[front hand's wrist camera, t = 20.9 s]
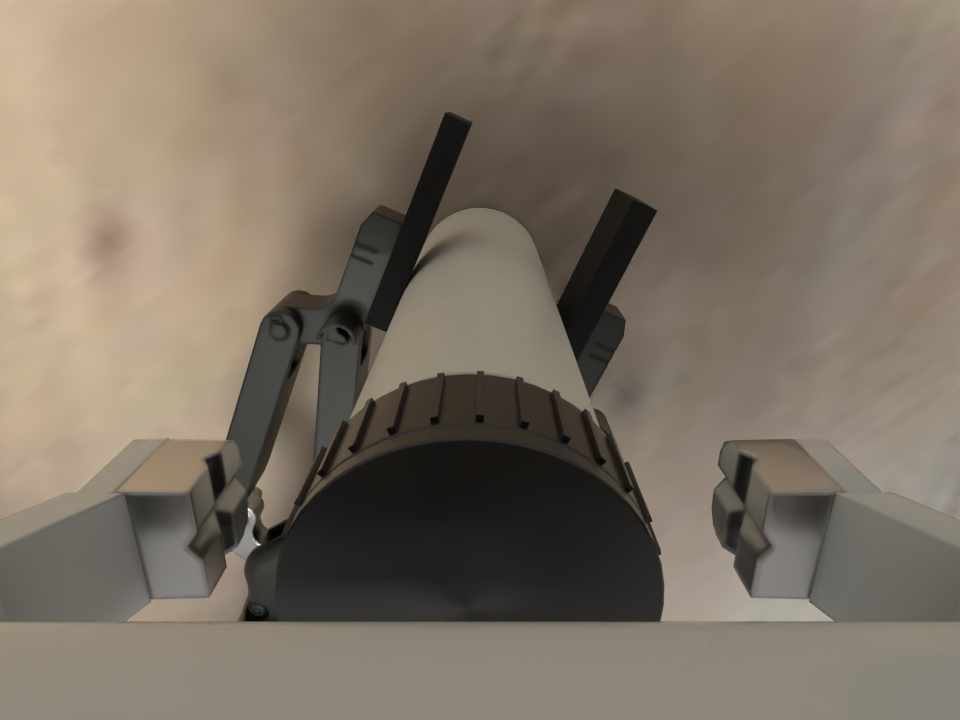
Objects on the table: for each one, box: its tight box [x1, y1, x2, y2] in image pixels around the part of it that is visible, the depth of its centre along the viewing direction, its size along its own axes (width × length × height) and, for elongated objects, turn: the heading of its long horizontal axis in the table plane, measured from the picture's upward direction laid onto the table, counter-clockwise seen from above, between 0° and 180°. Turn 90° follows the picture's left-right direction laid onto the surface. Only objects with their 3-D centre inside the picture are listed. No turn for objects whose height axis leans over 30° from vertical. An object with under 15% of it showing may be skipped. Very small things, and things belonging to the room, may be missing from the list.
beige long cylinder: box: [349, 208, 600, 427], centre depth 18 cm, size 5×5×19 cm
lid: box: [274, 371, 664, 622], centre depth 10 cm, size 6×6×2 cm
